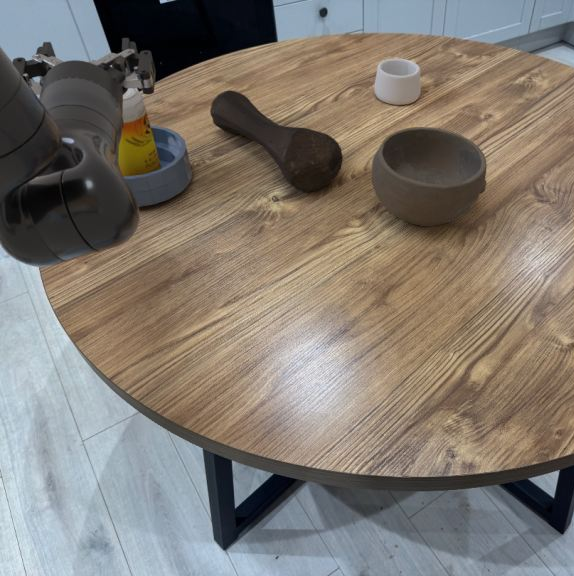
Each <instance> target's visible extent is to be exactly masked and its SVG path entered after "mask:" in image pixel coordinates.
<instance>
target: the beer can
mask: <svg viewBox="0 0 574 576" xmlns="http://www.w3.org/2000/svg"><path fill="white" fill-rule="evenodd" d="M122 117H123V129H122V136H121V140H120V143H119V158H118V162H119V167H120V170H121V173H122V175H123V176H136V175H142V174H147V173H150V172H153V171H157V170H160V169H161V164H160V161H159V157H158V153H157V149H156V146H155V142H154V138H153V134H152V131H151V127H150V126H151V124H150V120H149V116H148V112H147V107H146V105H145V101H144V98H143V93H141V92H140V90H139V88H128V90H127V92H126V93H124V94H123V114H122Z"/></svg>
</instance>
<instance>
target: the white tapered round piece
mask: <svg viewBox="0 0 574 576" xmlns="http://www.w3.org/2000/svg"><path fill="white" fill-rule="evenodd" d="M373 89H374V90H373V91H374V95H375V96H376V98H377V99H378V100H380V101H381V102H383V103H385V104H389V105H395V106H402V105H403V106H405V105H409V104H413V103H414V102H416V101H417V100H418V99H419V98H420V96H421V91H422V90H421V89H422V87H421V68H420V66H419V65H418V63H416V62H414V61H413V60H409V59H406V58H389V59H385V60H383V61H381V62H379V63H378V65H377V69H376V75H375V81H374V88H373Z"/></svg>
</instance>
